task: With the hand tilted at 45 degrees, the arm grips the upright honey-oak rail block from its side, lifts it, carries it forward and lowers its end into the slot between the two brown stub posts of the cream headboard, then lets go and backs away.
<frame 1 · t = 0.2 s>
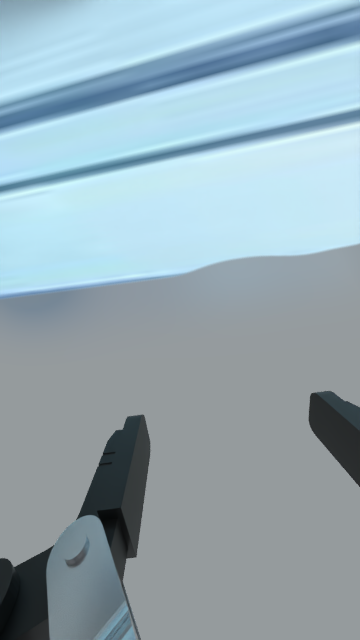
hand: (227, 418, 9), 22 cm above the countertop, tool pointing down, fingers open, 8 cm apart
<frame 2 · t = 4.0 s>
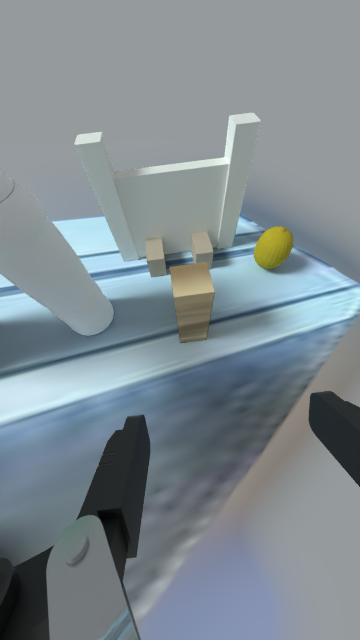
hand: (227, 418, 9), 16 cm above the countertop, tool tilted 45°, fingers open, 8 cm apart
water bottle: (95, 318, 32), on the countertop
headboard: (180, 265, 36), on the countertop
rail: (191, 329, 29), on the countertop
lemon: (263, 267, 35), on the countertop
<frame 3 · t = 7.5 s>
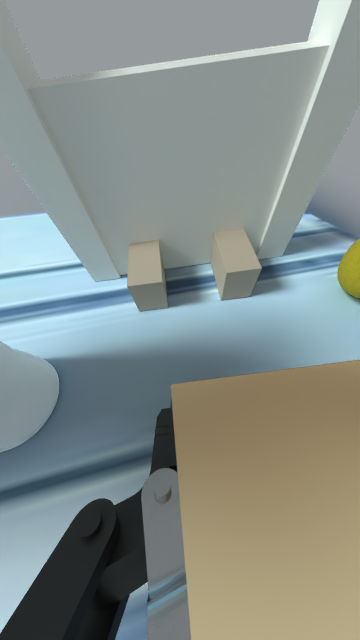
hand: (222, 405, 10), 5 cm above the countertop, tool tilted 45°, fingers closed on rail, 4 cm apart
water bottle: (23, 401, 16), on the countertop
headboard: (191, 289, 20), on the countertop
rail: (220, 442, 13), on the countertop, touching gripper
lemon: (349, 294, 19), on the countertop
when the fingers open (7 cm above the countertop, at t = 12.2 s): rail drops 2 cm, on the countertop.
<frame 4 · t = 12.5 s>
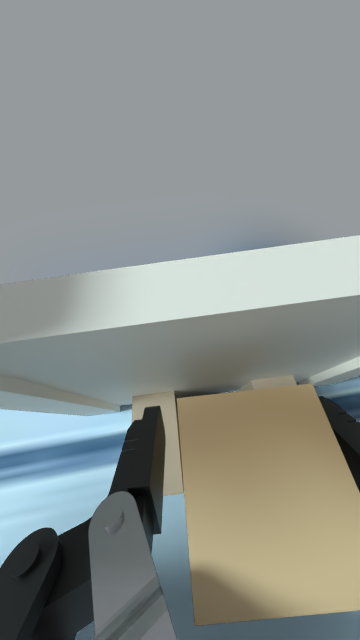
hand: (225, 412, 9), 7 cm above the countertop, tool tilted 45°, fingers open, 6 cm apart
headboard: (217, 440, 15), on the countertop
rail: (215, 440, 15), on the countertop
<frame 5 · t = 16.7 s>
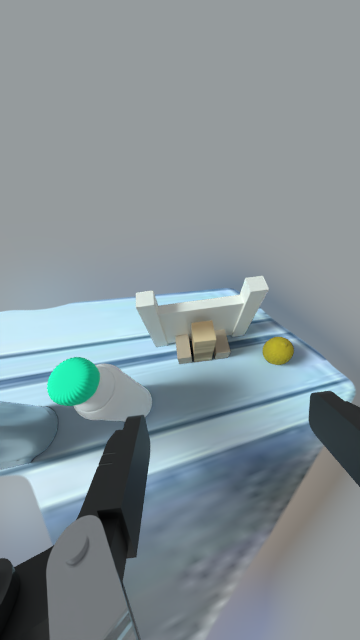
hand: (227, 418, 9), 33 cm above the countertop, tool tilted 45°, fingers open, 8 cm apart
water bottle: (137, 403, 40), on the countertop
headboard: (201, 352, 45), on the countertop
rail: (201, 353, 45), on the countertop
lemon: (270, 357, 43), on the countertop
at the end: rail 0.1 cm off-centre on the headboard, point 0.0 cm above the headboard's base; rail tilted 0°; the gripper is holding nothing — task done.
